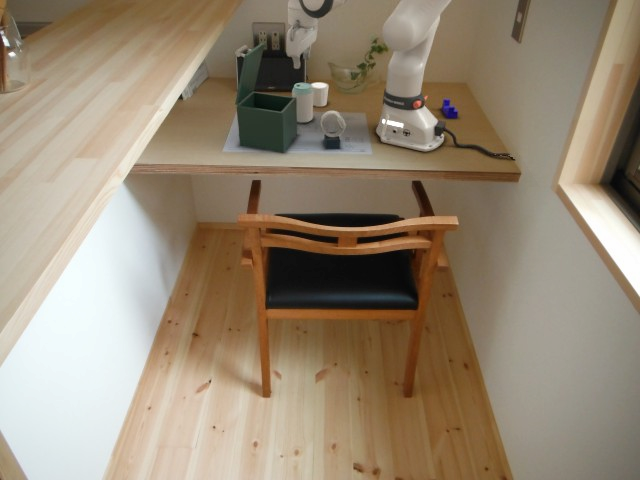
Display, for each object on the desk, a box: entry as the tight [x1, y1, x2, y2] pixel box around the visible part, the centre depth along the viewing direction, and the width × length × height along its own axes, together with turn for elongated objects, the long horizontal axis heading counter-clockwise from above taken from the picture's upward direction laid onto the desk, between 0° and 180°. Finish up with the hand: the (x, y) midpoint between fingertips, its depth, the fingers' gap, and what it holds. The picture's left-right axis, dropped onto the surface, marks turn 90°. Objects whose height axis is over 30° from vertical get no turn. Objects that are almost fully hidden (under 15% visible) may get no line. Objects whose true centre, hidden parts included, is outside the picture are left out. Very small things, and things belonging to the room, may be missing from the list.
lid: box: [234, 42, 266, 106], centre depth 136 cm, size 15×13×5 cm
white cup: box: [309, 81, 330, 108], centre depth 170 cm, size 7×7×7 cm
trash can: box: [235, 91, 298, 153], centre depth 144 cm, size 15×13×13 cm
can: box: [291, 82, 314, 124], centre depth 157 cm, size 7×7×12 cm
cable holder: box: [441, 98, 459, 119], centre depth 166 cm, size 8×4×4 cm, turn 2°
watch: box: [319, 110, 347, 150], centre depth 143 cm, size 6×8×11 cm
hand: (301, 63), depth 149 cm, fingers open, 8 cm apart
